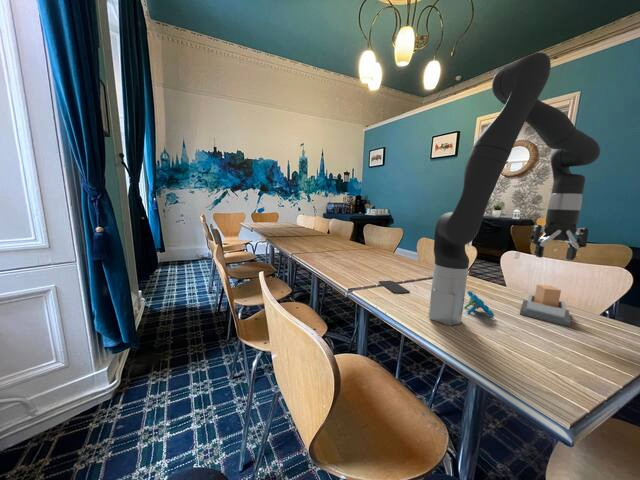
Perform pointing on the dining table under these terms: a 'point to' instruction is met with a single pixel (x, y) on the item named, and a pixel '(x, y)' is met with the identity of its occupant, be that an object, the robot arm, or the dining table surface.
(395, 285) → the phone
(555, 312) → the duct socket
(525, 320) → the dining table surface
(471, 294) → the blue toy figure
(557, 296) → the tan rectangular block
